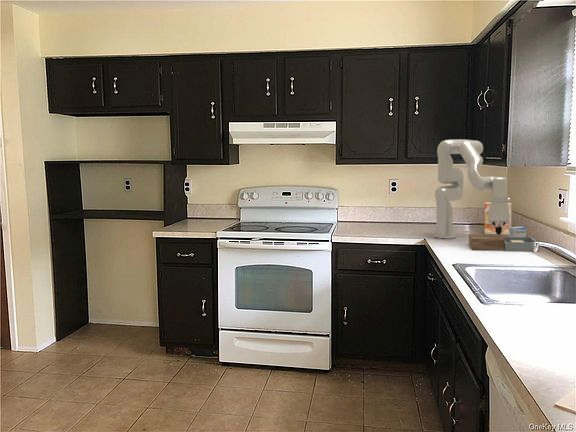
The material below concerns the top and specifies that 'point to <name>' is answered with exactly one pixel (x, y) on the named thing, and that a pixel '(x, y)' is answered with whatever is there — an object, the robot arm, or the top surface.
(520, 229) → the medicine box
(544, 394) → the top surface
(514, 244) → the bin
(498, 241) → the walnut riser
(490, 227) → the coffeecake box
